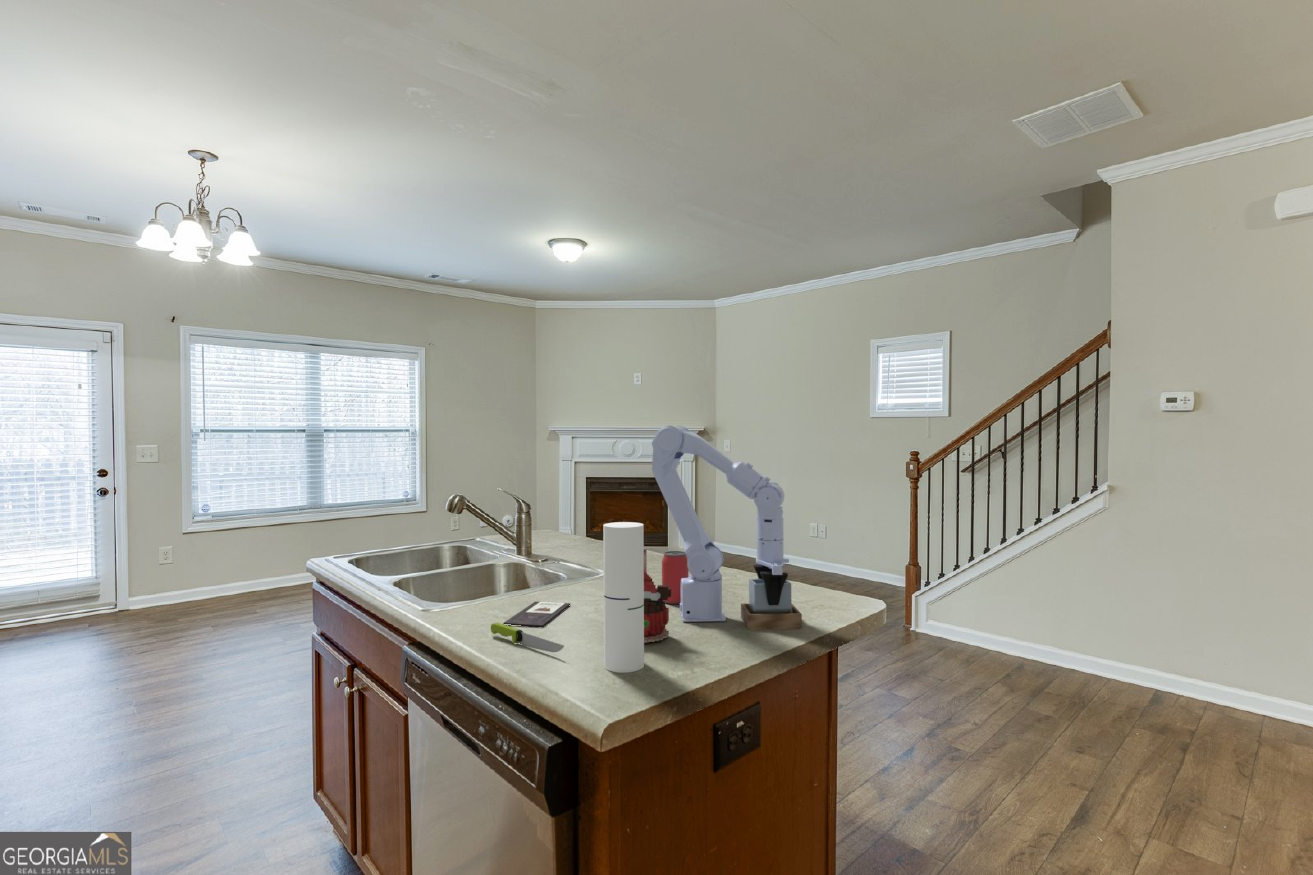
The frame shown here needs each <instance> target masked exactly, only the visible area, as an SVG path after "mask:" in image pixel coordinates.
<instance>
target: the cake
mask: <svg viewBox="0 0 1313 875" xmlns="http://www.w3.org/2000/svg"><path fill="white" fill-rule="evenodd" d="M647 550H648V549H647V548H644V644H646V643H647V644H649V643H650V642H651V643H652V642H653V643H655V642H659V641H663V640H664V639H667V638H668V637H669V634H670V633H669V632H670V630H667V628H666V626H667V625H668V623H669V621H670V620H669V618H670V617H669V616H670V615H669V612H670V610H669V608H670V607H667V605H666V603H665V601H663V600H668V597H671V589H668V585H662V584H658V585H657V586H656V584H655V581H653V578H652V577H651V576H650V575H649V574H648V572H647V568H648V566H647V559H648V558H647V557H648V556H647V553H648V552H647Z"/></svg>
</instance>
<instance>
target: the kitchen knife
mask: <svg viewBox="0 0 1313 875" xmlns="http://www.w3.org/2000/svg"><path fill="white" fill-rule="evenodd" d="M490 632H491V634H492V635H496V634H498V635H500V636H503V637H505V638H506V637H511V640H512V642H511V643H512V644H513V643H520V644H522V645H524V646H523V647H526V646H528V647H527V648H532V649H535V650H541V651H545V652H549V653H557V652H558V653H559V652H560V651H562V650H563V649H564V647H565V645H563V644H560V643H558V642H554V641H551V640H549V639H545V638H542V637H540V636H535V635H532V634H529V633H526V632H524V631H523V630H522V629H518V628H516V627H514V626H507V625H504V624H503V623H500V622H494V623H492V624H490ZM522 645H521V646H522Z"/></svg>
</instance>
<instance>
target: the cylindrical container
mask: <svg viewBox="0 0 1313 875" xmlns="http://www.w3.org/2000/svg"><path fill="white" fill-rule="evenodd" d="M602 526H603V527H602V528H603V536H602V537H603V542H602V543H603V544H602V545H603V547H602V548H603V554H602V555H603V667H604V669H606V671H609V672H612V673H620V674H621V673H624V674H625V673H632V672H637V671H640V670H642V669H643V668H644V667H645V643H644V549H645V548H644V547H645V544H644V529H645V528H644V526H645V525H644V523H641V522H633V521H632V522H631V521H618V522H616V521H615V522H608V523H603V525H602Z"/></svg>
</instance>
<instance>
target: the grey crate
mask: <svg viewBox="0 0 1313 875" xmlns="http://www.w3.org/2000/svg"><path fill="white" fill-rule="evenodd" d="M748 603H749V607H750V608H751V609H752V610H753V611H754V612H755V613H760V612H792V604H793V603H792V582H790V581H789V580H788V579H786V581H785V583H784V585H783V588H782V592H781V597H780V601H779V605H768V601H767V595H766V588H765V584H764V581H763V579H758V578H752V579H751V578H749V579H748Z"/></svg>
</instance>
